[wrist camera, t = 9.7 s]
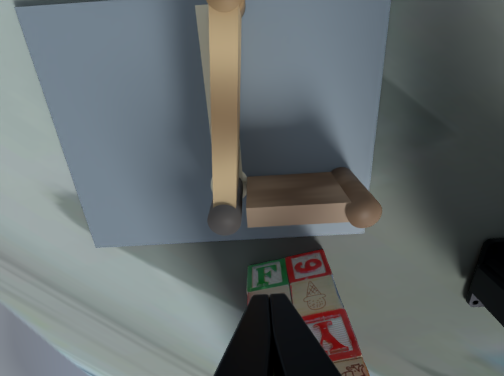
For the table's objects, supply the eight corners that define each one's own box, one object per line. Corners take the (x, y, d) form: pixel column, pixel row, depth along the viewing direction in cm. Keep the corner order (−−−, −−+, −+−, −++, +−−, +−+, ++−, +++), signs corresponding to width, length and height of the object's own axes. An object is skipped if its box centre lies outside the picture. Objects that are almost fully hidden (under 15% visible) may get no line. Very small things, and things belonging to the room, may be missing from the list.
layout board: (389, -18, 16) (394, -21, 15) (362, 230, 22) (364, 234, 22) (19, 8, 16) (12, 7, 16) (98, 244, 22) (95, 248, 22)
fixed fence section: (354, 166, 19) (384, 197, 15) (352, 191, 20) (379, 227, 16) (246, 172, 19) (245, 205, 15) (248, 196, 20) (248, 234, 16)
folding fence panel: (242, 198, 20) (240, 236, 16) (216, 197, 20) (207, 235, 16) (247, -12, 15) (246, -37, 11) (212, -14, 15) (198, -39, 11)
